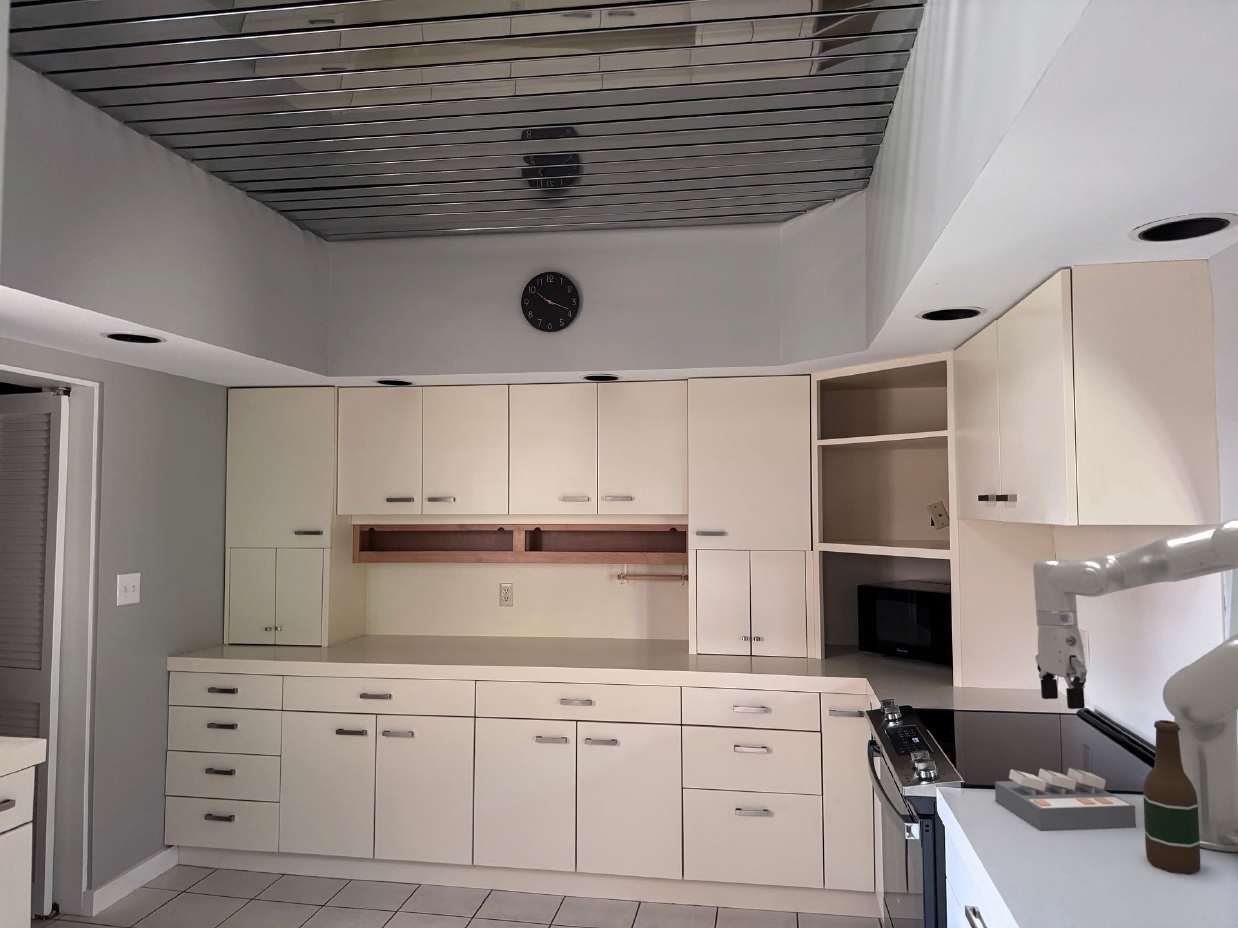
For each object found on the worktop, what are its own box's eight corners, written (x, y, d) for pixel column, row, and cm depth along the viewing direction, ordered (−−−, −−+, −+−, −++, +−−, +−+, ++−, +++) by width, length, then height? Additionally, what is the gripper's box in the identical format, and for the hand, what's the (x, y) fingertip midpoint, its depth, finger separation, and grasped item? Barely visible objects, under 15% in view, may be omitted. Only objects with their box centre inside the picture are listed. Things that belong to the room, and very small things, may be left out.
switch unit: (1135, 827, 156) (1134, 800, 157) (1040, 830, 155) (1039, 803, 155) (1082, 798, 172) (1081, 774, 173) (995, 801, 171) (994, 776, 171)
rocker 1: (1044, 790, 163) (1046, 781, 163) (1020, 784, 163) (1023, 775, 163) (1031, 783, 167) (1033, 774, 167) (1008, 777, 167) (1010, 768, 167)
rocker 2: (1103, 789, 164) (1105, 779, 164) (1080, 783, 164) (1082, 773, 164) (1089, 781, 168) (1091, 772, 168) (1067, 776, 168) (1069, 767, 168)
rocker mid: (1074, 789, 163) (1076, 780, 164) (1050, 783, 163) (1052, 774, 163) (1060, 782, 168) (1062, 773, 168) (1038, 776, 167) (1040, 767, 168)
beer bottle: (1149, 851, 145) (1143, 714, 146) (1202, 863, 140) (1196, 720, 142) (1143, 866, 139) (1136, 722, 140) (1198, 879, 134) (1191, 730, 136)
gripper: (1099, 623, 161) (1106, 711, 160) (1052, 614, 178) (1057, 694, 177) (1061, 624, 161) (1068, 713, 160) (1018, 615, 178) (1023, 695, 177)
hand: (1062, 703), depth 168 cm, fingers open, 9 cm apart
